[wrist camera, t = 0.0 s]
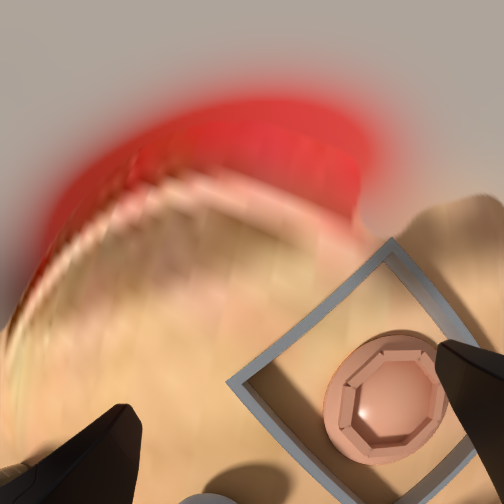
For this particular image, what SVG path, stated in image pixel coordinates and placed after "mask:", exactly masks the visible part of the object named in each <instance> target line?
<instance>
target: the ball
mask: <svg viewBox="0 0 504 504" xmlns="http://www.w3.org/2000/svg"><path fill="white" fill-rule="evenodd" d="M179 504H237V503H236V502H235V501H233V500H232V499H230V498H228V497H225V496H222V495H219V494H213V493H202V494H196V495H193V496H190V497H188V498H186V499H184V500H183V501H181V502H180V503H179Z"/></svg>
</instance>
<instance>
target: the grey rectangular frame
mask: <svg viewBox="0 0 504 504" xmlns="http://www.w3.org/2000/svg"><path fill="white" fill-rule="evenodd" d="M382 261H384V262H385V263H386V265H387V266H388V267H389V268H390V269H391V270H392V271H393V272H394V274H395V275H396V276H397V277H398V278H399V279H400V281H401V282H402V283H403V284H404V285H405V286H406V288H407V289H408V290H409V291H410V292H411V294H412V295H413V296H414V297H415V298H416V300H417V301H418V302H419V303H420V304H421V306H422V307H423V308H424V309H425V311H426V312H427V313H428V314H429V316H430V317H431V318H432V319H433V321H434V322H435V323H436V324H437V326H438V327H439V328H440V330H441V331H442V332H443V334H444V335H445V336H446V337H447V339H453V340H456V341H459V342H462V343H465V344H469V345H472V346H475V347H478V348H480V346H479V345H478V343H477V342H476V341H475V339H474V338H473V336H472V335H471V333H470V332H469V331H468V329H467V328H466V326H465V325H464V324H463V322H462V321H461V320H460V318H459V317H458V315H457V314H456V313H455V311H454V310H453V309H452V308H451V306H450V305H449V304H448V302H447V301H446V300H445V298H444V297H443V296H442V295H441V293H440V292H439V291H438V290H437V288H436V287H435V286H434V285H433V283H432V282H431V281H430V280H429V279H428V277H427V276H426V275H425V274H424V273H423V271H422V270H421V269H420V268H419V267H418V266H417V264H416V263H415V262H414V261H413V260H412V259H411V257H410V256H409V255H408V254H407V253H406V252H405V251H404V250H403V248H402V247H401V246H400V245H399V244H398V243H397V242H396V241H395V240H394V239H393V237H391V238H390V239H389V240H388V241H387V242H386V243H385V244H384V245H383V246H382V247H381V248H380V249H379V250H378V251H377V252H376V253H375V254H374V255H373V256H372V257H371V258H370V259H369V260H368V261H367V262H366V263H365V264H364V265H363V266H362V267H361V268H360V269H359V270H357V271H356V272H355V273H354V274H353V275H352V276H351V277H350V278H349V279H348V280H347V281H346V282H345V283H344V284H343V285H341V286H340V287H339V288H338V289H337V290H336V291H335V292H334V293H333V294H332V295H331V296H329V297H328V298H327V299H326V300H325V301H324V302H323V303H322V304H320V305H319V306H318V307H317V308H316V309H315V310H314V311H312V312H311V313H310V314H309V315H308V316H307V317H306V318H304V319H303V320H302V321H301V322H300V323H299V324H297V325H296V326H295V327H294V328H293V329H291V330H290V331H289V332H288V333H287V334H285V335H284V336H283V337H282V338H281V339H279V340H278V341H277V342H276V343H274V344H273V345H272V346H271V347H270V348H268V349H267V350H266V351H265V352H263V353H262V354H261V355H259V356H258V357H257V358H256V359H254V360H253V361H252V362H251V363H249V364H248V365H247V366H245V367H244V368H243V369H241V370H240V371H239V372H238V373H236V374H235V375H234V376H232V377H231V378H230V379H228V380H227V381H226V384H227V385H228V386H229V387H230V388H231V390H232V391H233V392H234V393H235V394H236V396H237V397H238V398H239V399H240V400H241V402H242V403H243V404H244V405H245V406H246V407H247V409H248V410H249V411H250V412H251V413H252V414H253V415H254V417H255V418H256V419H257V420H258V421H259V422H260V423H261V424H262V425H263V427H264V428H265V429H266V430H267V431H268V432H269V433H270V434H271V435H272V436H273V437H274V438H275V440H276V441H277V442H278V443H279V444H280V445H281V446H282V447H283V448H284V449H285V450H286V451H287V452H288V453H289V454H290V455H291V456H292V457H293V458H294V459H295V460H296V461H297V462H298V463H299V464H300V465H301V466H302V467H303V468H304V469H305V470H306V471H307V472H308V473H309V474H310V475H311V476H312V477H313V478H314V479H315V480H316V481H317V482H318V483H320V484H321V485H322V486H323V487H324V488H325V489H326V490H327V491H328V492H329V493H330V494H332V495H333V496H334V497H335V498H336V499H337V500H338V501H339V502H341V503H342V504H366V503H364V502H363V501H362V500H361V499H360V498H359V497H358V496H357V495H356V494H354V493H353V492H352V491H351V490H350V489H349V488H348V487H347V486H346V485H345V484H344V483H343V482H341V481H340V480H339V479H338V478H337V477H336V476H335V475H334V474H333V473H332V472H331V471H330V470H329V469H328V468H327V467H326V466H325V465H324V464H323V463H322V462H321V461H320V460H319V459H318V458H317V457H316V456H315V455H314V454H313V453H312V452H311V451H310V450H309V449H308V448H307V447H306V446H305V445H304V444H303V443H302V442H301V441H300V440H299V439H298V438H297V436H296V435H295V434H294V433H293V432H292V431H291V430H290V429H289V428H288V427H287V426H286V425H285V424H284V422H283V421H282V420H281V419H280V418H279V417H278V416H277V415H276V414H275V413H274V411H273V410H272V409H271V408H270V407H269V406H268V405H267V403H266V402H265V401H264V400H263V399H262V398H261V397H260V395H259V394H258V393H257V392H256V391H255V390H254V388H253V387H252V386H251V385H250V384H249V383H248V381H247V379H249V378H250V377H251V376H253V375H254V374H255V373H257V372H258V371H259V370H260V369H262V368H263V367H264V366H266V365H267V364H268V363H269V362H271V361H272V360H273V359H274V358H276V357H277V356H278V355H279V354H281V353H282V352H283V351H284V350H286V349H287V348H288V347H289V346H290V345H292V344H293V343H294V342H295V341H296V340H298V339H299V338H300V337H301V336H302V335H304V334H305V333H306V332H307V331H308V330H309V329H311V328H312V327H313V326H314V325H315V324H316V323H317V322H319V321H320V320H321V319H322V318H323V317H324V316H325V315H326V314H328V313H329V312H330V311H331V310H332V309H333V308H334V307H335V306H336V305H338V304H339V303H340V302H341V301H342V300H343V299H344V298H345V297H346V296H347V295H348V294H349V293H350V292H352V291H353V290H354V289H355V288H356V287H357V286H358V285H359V284H360V283H361V282H362V281H363V280H364V279H365V278H366V277H367V276H368V275H369V274H370V273H371V272H372V271H373V270H374V269H375V268H376V267H377V266H378V265H379V264H380V263H381V262H382ZM436 352H437V351H436V350H435V349H434V348H433V347H432V346H431V345H429V344H428V343H426V342H425V341H423V340H421V339H418V338H416V337H412V336H407V335H392V336H385V337H380V338H378V339H375V340H372V341H370V342H368V343H366V344H364V345H362V346H361V347H359V348H358V349H356V350H355V351H354V352H353V353H351V354H350V355H349V356H348V357H347V358H346V359H345V360H344V361H343V362H342V363H341V365H340V366H339V367H338V369H337V370H336V372H335V373H334V375H333V377H332V379H331V381H330V383H329V385H328V388H327V391H326V394H325V398H324V405H323V418H324V424H325V428H326V431H327V433H328V436H329V438H330V440H331V441H332V443H333V445H334V446H335V447H336V448H337V449H338V451H340V452H341V453H342V454H343V455H344V456H346V457H348V458H349V459H351V460H353V461H356V462H359V463H362V464H368V465H382V464H388V463H392V462H396V461H398V460H401V459H403V458H405V457H407V456H409V455H411V454H413V453H414V452H415V451H417V450H418V449H420V448H421V447H422V446H423V445H424V444H425V443H426V442H427V441H428V440H429V439H430V438H431V437H432V435H433V434H434V433H435V431H436V430H437V429H438V427H439V425H440V423H441V422H442V419H443V417H444V415H445V412H446V409H447V406H448V401H449V400H448V398H447V395H446V393H445V391H444V389H443V387H442V385H441V383H440V380H439V378H438V376H437V374H436V372H435V359H436ZM476 454H477V451H476V449H475V448H474V446H473V444H472V442H471V440H470V439H469V437H468V435H466V436H465V437H464V438H463V439H462V440H461V442H460V443H459V444H458V445H457V446H456V447H455V448H454V449H453V450H452V451H451V452H450V453H449V454H448V455H447V456H446V458H445V459H444V460H443V461H442V462H441V463H439V464H438V465H437V466H436V467H435V468H434V469H433V470H432V471H431V472H430V473H429V474H428V475H427V476H426V477H425V478H424V479H422V480H421V481H420V482H419V483H418V484H417V485H416V486H414V487H413V488H412V489H411V490H410V491H408V492H407V493H406V494H405V495H404V496H402V497H401V498H400V499H399V500H397V501H396V502H395V503H393V504H426V503H427V502H428V501H429V500H431V499H432V498H433V497H434V496H435V495H436V494H437V493H438V492H440V491H441V490H442V489H443V488H444V487H445V486H446V485H447V484H448V483H449V482H450V481H451V480H452V479H453V478H454V477H455V476H456V475H457V474H458V473H459V472H460V471H461V470H462V469H463V468H464V467H465V466H466V465H467V464H468V463H469V462H470V460H471V459H472V458H473V457H474V456H475V455H476Z"/></svg>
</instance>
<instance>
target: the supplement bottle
mask: <svg viewBox="0 0 504 504" xmlns="http://www.w3.org/2000/svg"><path fill="white" fill-rule="evenodd" d="M28 469H30V467H28V466H26V465H24V464H15V465H12V466H8V467H5V468H1V469H0V486H2V485H4V484H6V483H8V482H9V481H11V480H13V479H14V478H16V477H18V476H19V475H21V474H22V473H24V472H25V471H27V470H28Z"/></svg>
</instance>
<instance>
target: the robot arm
mask: <svg viewBox="0 0 504 504" xmlns="http://www.w3.org/2000/svg"><path fill="white" fill-rule="evenodd" d="M435 372H436V374H437V376H438V378H439V380H440V383H441V385H442V387H443V389H444V391H445V393H446V395H447V398H448V400H449V402H450V404H451V406H452V408H453V410H454V412H455V414H456V416H457V418H458V419H459V421H460V423H461V424H462V426H463V428H464V430H465V431H466V433H467V435H468V437H469V439H470V440H471V442H472V444H473V446H474V448H475V449H476V451H477V453H478V455H479V457H480V459H481V461H482V463H483V465H484V467H485V469H486V471H487V473H488V475H489V477H490V479H491V481H492V483H493V485H494V487H495V489H496V491H497V493H498V495H499V498H500V500H501V502H502V504H504V355H502V354H498V353H495V352H492V351H488V350H485V349H482V348H478V347H475V346H472V345H469V344H465V343H462V342H459V341H456V340H453V339H448V340H446V341H443V342H441V343H439V344H438V346H437V352H436V359H435ZM141 439H142V423H141V421H140V419H139V418H138V416H137V415H136V413H135V411H134V410H133V408H132V406H131V405H129V404H116V405H114V406H113V407H112V408H111V409H109V410H108V411H107V412H105V413H104V414H103V415H102V416H100V417H99V418H98V419H96V420H95V421H94V422H92V423H91V424H90V425H88V426H87V427H86V428H84V429H83V430H82V431H80V432H79V433H78V434H76V435H75V436H74V437H72V438H71V439H70V440H68V441H67V442H66V443H64V444H63V445H62V446H60V447H59V448H58V449H56V450H55V451H54V452H52V453H51V454H49V455H48V456H47V457H45V458H44V459H42V460H41V461H40V462H38V464H35V465H34V466H33V467H31V468H30V469H28V470H27V471H25V472H24V473H22V474H21V475H19V476H18V477H16V478H14V479H13V480H11V481H9V482H8V483H6V484H4V485H2V486H0V504H132V502H133V497H134V491H135V486H136V481H137V476H138V470H139V461H140V449H141Z"/></svg>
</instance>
